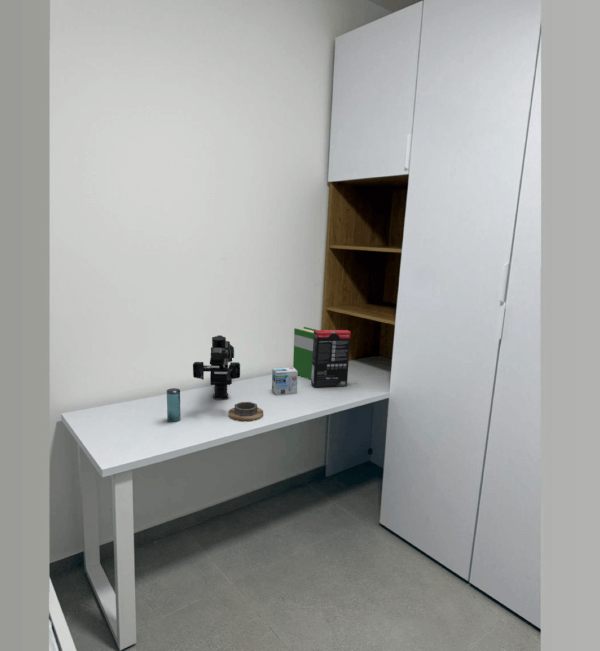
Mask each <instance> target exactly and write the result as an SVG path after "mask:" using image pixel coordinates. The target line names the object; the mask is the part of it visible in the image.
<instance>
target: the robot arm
mask: <svg viewBox="0 0 600 651" xmlns="http://www.w3.org/2000/svg"><path fill="white" fill-rule="evenodd" d="M232 358H233V359H235V347H234V346H233V345H231V342H230V341H228V340H227V338H226V337H225V336H223V335H215V336H212V337H211V347H210V358H209V365H207V364H206V365H205V363H204V361H194V362H193V363H192V376H193V378H195V379H201V381H202V380H205V379H204V375H205V374H204V373H205V372H210V374H209V376H210V377H209V378H210V379H209V380H210V386H213V387H214V388H213V389H214V391H213V392H214V393H213V395H212V396H213V398H212V399H213V400H228V399H229V392H228V386H231V385H232V384H233V380H234V379H240V377H241V363H240V362H237V361H236V362H232V361H233V360H232Z"/></svg>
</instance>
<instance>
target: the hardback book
mask: <svg viewBox="0 0 600 651" xmlns="http://www.w3.org/2000/svg"><path fill="white" fill-rule="evenodd" d="M293 330H294V331H293V334H294V335H293V362H292V364H293V366H292V367H294V368H295V369H296V370H297V371H298V376H299V377H301V378H304V379H306V380H309V381H311V374H312V357H313V338H314V330H317V329H315V328H313V327H307V326H304V327H303V328H294V329H293ZM298 376H297V377H298Z"/></svg>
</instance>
